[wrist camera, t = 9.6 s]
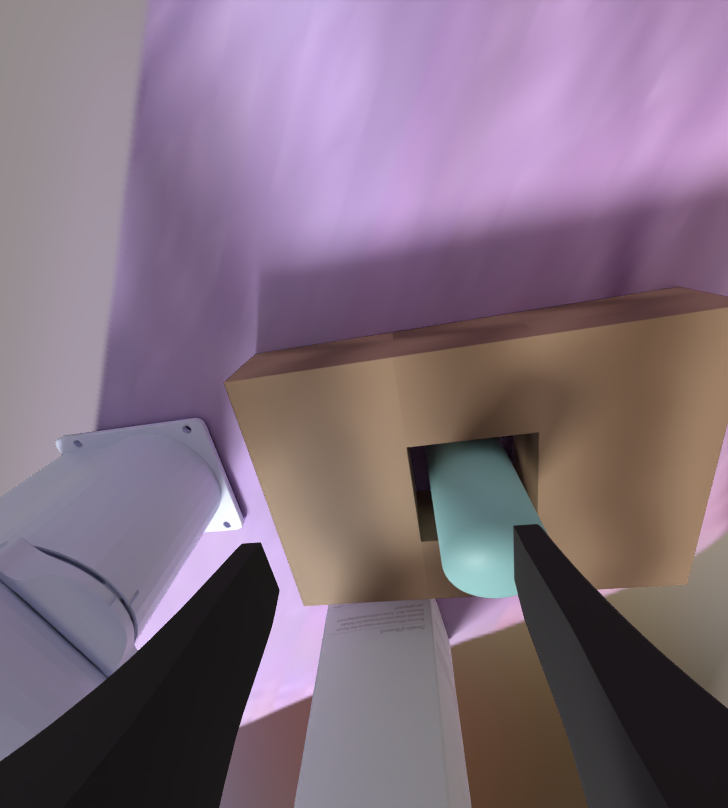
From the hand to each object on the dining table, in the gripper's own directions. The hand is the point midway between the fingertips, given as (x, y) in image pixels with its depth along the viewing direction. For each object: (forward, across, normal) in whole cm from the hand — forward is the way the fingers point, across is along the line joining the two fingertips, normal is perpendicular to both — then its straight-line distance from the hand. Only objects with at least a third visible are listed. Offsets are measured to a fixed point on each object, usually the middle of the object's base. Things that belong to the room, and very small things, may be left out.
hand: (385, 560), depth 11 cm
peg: (+10, -3, +3) cm, 11 cm away
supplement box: (+10, +3, +17) cm, 20 cm away
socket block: (+10, -3, +3) cm, 11 cm away
